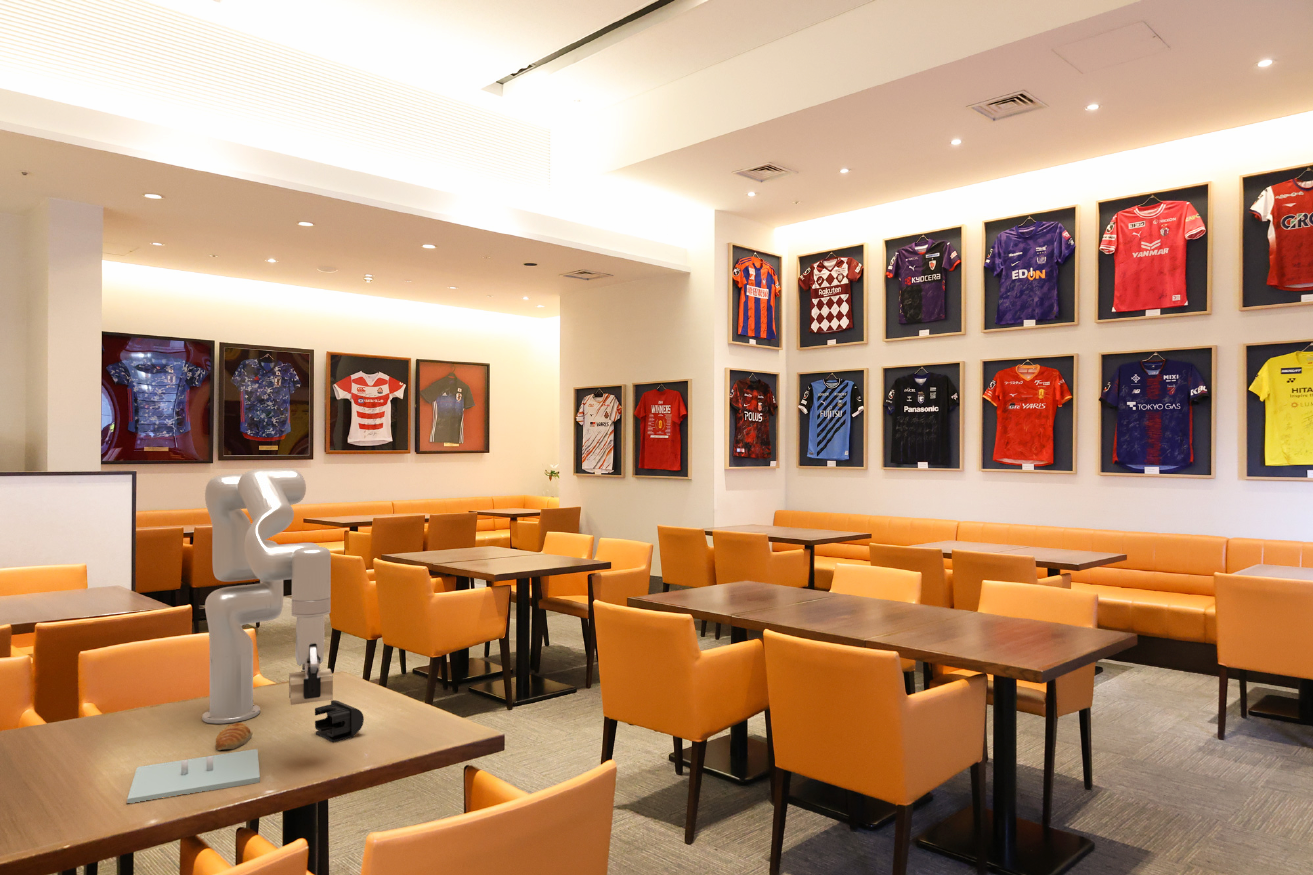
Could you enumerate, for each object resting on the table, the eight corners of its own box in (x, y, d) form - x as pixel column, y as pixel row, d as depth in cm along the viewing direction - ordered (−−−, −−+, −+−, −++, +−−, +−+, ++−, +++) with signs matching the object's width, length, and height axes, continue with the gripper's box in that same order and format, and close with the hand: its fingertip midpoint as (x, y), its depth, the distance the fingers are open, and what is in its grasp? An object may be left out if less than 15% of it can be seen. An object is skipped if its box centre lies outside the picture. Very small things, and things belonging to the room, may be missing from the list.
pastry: (241, 751, 183) (241, 733, 183) (207, 754, 182) (207, 736, 182) (253, 737, 192) (253, 720, 192) (221, 739, 191) (221, 722, 191)
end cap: (364, 735, 192) (364, 705, 192) (334, 743, 187) (334, 712, 187) (343, 726, 199) (343, 697, 199) (314, 733, 194) (313, 704, 194)
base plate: (137, 771, 171) (137, 754, 171) (257, 753, 181) (257, 737, 181) (127, 804, 155) (127, 785, 155) (259, 782, 165) (259, 764, 165)
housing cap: (289, 696, 177) (289, 672, 177) (329, 691, 180) (329, 668, 180) (290, 704, 171) (290, 680, 171) (332, 699, 175) (332, 675, 175)
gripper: (289, 601, 182) (288, 684, 182) (294, 616, 167) (293, 707, 167) (326, 598, 185) (325, 680, 185) (334, 612, 170) (334, 702, 170)
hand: (310, 692), depth 176 cm, fingers closed on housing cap, 6 cm apart
